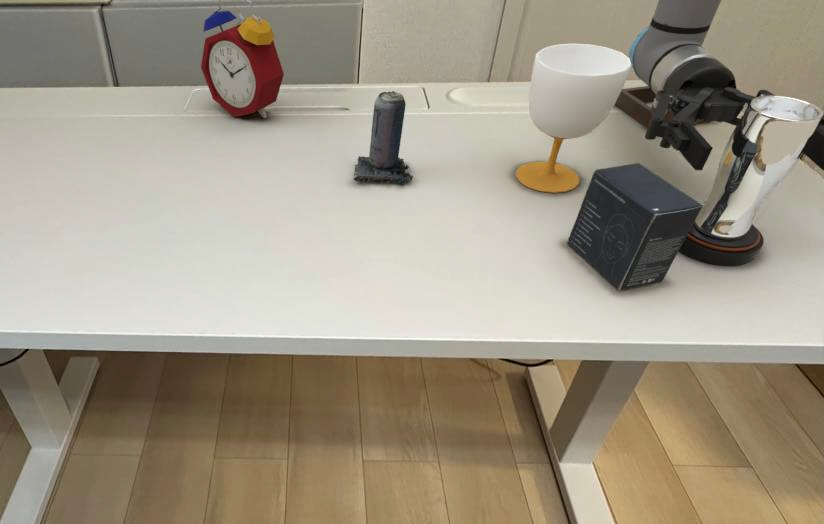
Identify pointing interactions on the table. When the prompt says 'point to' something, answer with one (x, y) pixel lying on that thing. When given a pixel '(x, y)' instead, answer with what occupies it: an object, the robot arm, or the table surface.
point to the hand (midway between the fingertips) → (768, 159)
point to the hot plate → (722, 247)
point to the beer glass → (756, 162)
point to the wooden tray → (640, 104)
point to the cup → (570, 103)
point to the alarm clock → (241, 64)
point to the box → (632, 225)
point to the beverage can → (385, 142)
